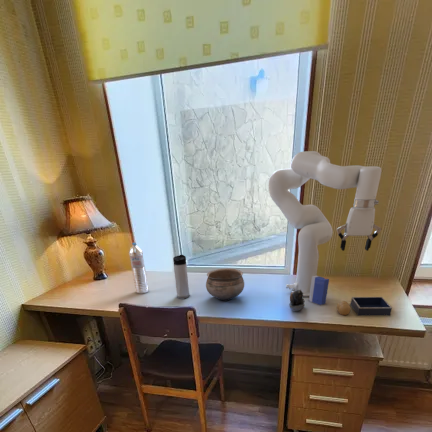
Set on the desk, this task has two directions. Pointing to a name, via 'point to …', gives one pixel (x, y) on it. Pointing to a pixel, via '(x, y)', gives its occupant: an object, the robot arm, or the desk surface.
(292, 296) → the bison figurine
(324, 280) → the walkman
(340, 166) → the robot arm
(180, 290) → the travel mug
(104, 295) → the desk surface
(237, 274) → the cooking pot
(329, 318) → the desk surface
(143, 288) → the water bottle
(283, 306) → the desk surface
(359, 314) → the square open-top storage box
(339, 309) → the potato
